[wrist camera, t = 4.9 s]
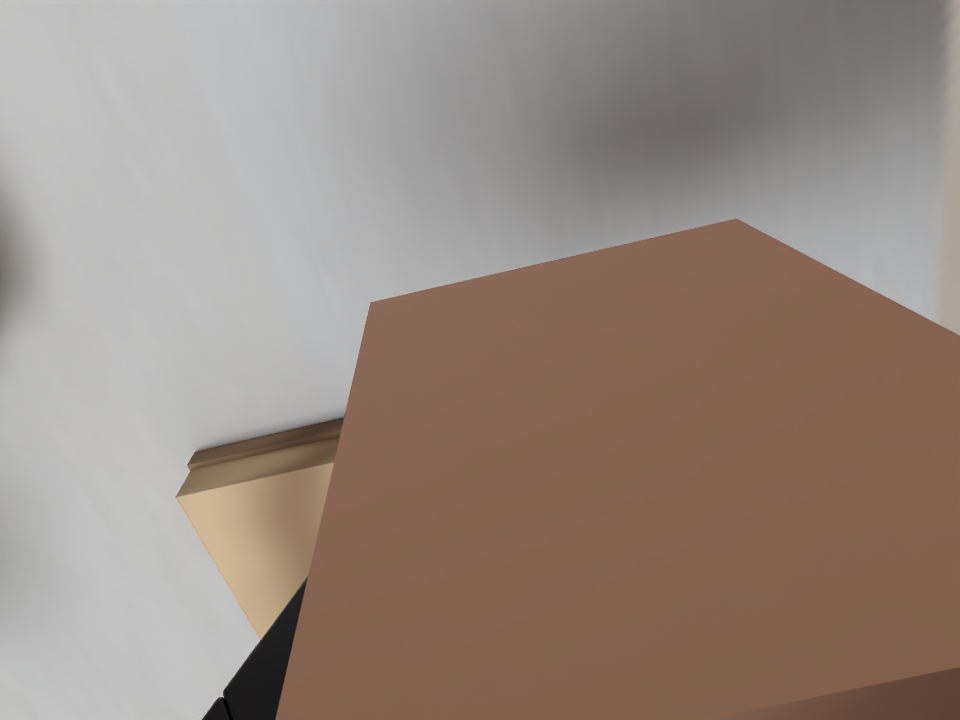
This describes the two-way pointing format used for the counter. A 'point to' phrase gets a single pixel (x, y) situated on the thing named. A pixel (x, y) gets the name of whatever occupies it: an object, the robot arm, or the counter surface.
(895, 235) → the counter surface
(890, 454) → the block
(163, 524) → the counter surface
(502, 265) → the counter surface
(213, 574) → the counter surface
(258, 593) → the tan square slab
